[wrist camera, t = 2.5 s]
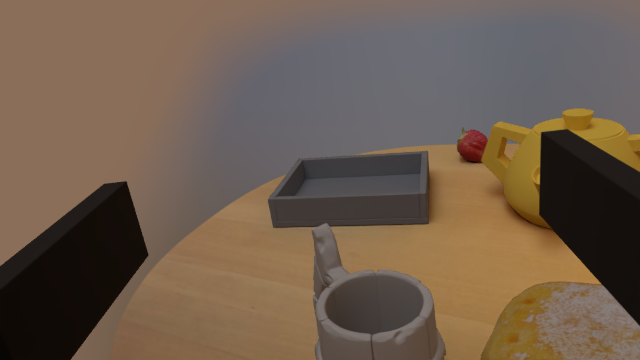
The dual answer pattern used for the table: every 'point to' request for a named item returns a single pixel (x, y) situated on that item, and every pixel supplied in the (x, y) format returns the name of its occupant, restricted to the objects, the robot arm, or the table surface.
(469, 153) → the fruit
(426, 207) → the tray
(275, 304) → the table surface
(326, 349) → the mug
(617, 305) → the bread
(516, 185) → the teapot
